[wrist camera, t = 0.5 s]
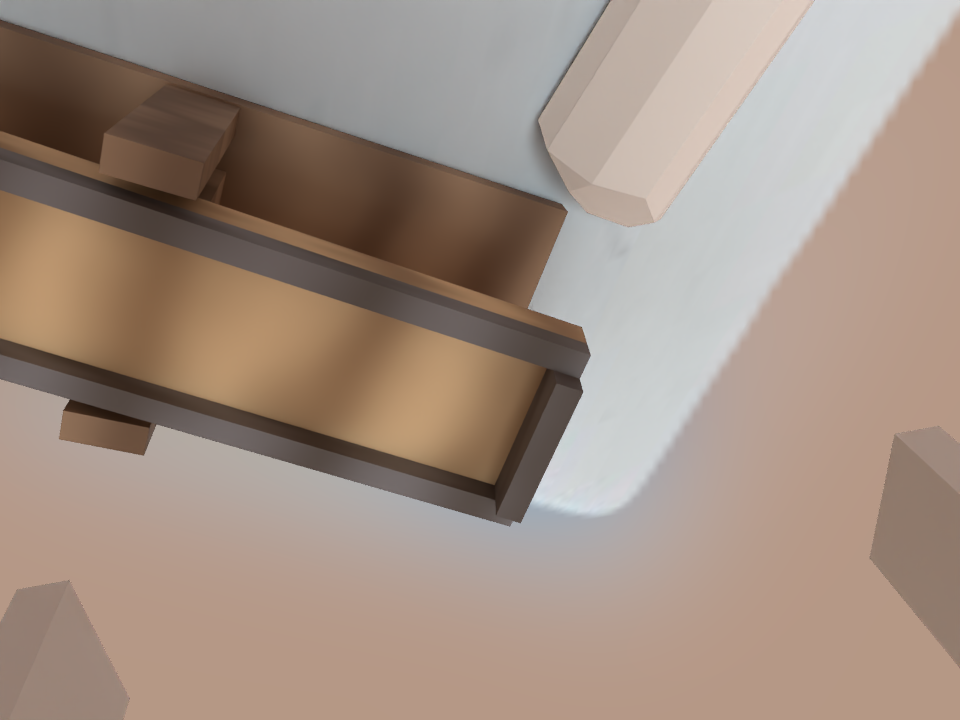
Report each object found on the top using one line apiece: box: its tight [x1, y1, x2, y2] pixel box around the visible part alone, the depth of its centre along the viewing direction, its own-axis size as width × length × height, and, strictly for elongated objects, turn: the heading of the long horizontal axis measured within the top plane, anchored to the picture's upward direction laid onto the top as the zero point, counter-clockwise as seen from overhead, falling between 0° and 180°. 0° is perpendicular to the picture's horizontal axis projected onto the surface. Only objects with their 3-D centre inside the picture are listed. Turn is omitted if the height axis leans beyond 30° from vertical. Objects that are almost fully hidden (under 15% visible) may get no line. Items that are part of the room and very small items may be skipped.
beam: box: [0, 131, 591, 526], centre depth 27 cm, size 32×8×4 cm, turn 70°
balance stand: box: [0, 20, 568, 455], centre depth 31 cm, size 34×12×10 cm, turn 70°
